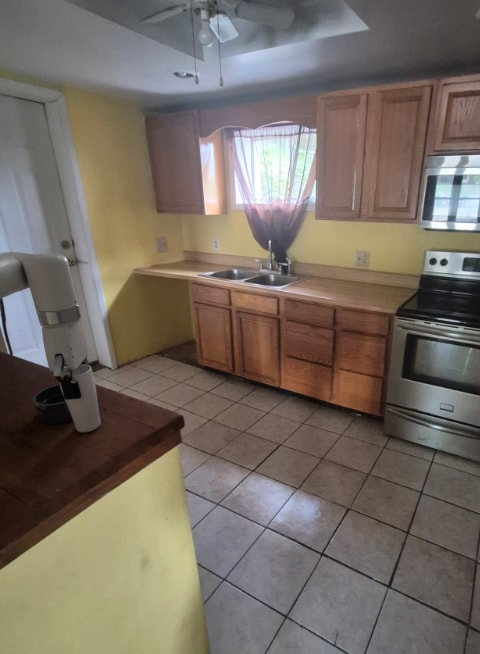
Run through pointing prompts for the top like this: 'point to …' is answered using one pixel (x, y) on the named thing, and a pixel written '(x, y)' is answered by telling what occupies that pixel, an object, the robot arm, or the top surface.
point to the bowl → (51, 406)
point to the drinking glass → (84, 400)
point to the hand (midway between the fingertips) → (79, 389)
